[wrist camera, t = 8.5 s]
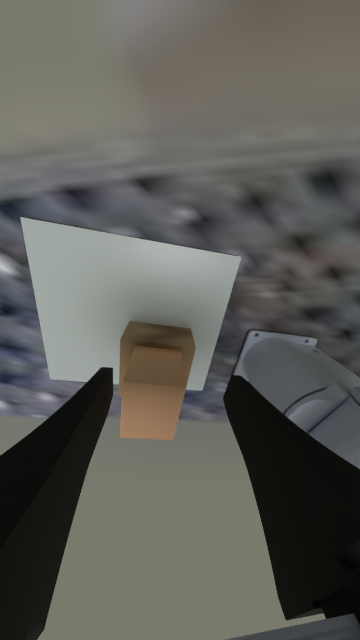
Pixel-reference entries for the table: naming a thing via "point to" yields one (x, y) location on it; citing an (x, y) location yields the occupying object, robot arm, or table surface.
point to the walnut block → (155, 344)
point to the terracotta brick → (152, 393)
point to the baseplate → (121, 295)
